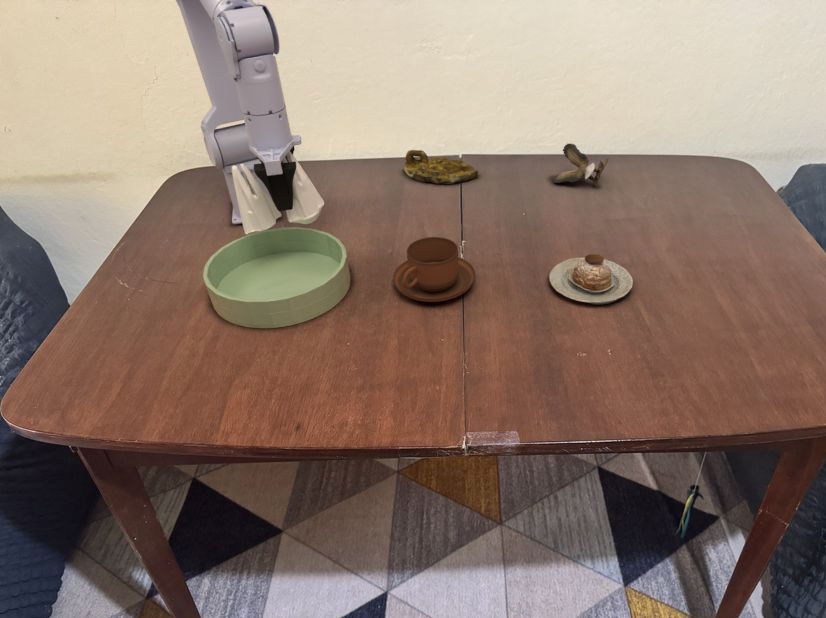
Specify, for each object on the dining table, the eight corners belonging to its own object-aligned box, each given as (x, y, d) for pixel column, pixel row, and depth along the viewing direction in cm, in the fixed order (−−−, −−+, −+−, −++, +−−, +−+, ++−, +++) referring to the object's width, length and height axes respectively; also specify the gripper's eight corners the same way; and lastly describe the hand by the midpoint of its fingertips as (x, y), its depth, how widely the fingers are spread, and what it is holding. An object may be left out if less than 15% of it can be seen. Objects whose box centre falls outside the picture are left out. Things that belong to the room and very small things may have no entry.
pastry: (585, 318, 87) (588, 290, 84) (532, 278, 95) (533, 252, 92) (649, 291, 92) (654, 263, 89) (594, 255, 100) (597, 228, 97)
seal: (482, 172, 127) (410, 166, 130) (483, 148, 125) (409, 142, 127) (473, 187, 120) (396, 181, 122) (473, 162, 117) (395, 156, 120)
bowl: (216, 262, 101) (208, 237, 98) (343, 244, 105) (339, 219, 102) (207, 339, 86) (197, 312, 83) (357, 315, 89) (353, 288, 87)
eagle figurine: (607, 169, 122) (563, 154, 124) (611, 147, 115) (564, 131, 117) (591, 202, 120) (547, 186, 122) (594, 182, 113) (547, 166, 115)
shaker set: (326, 213, 98) (313, 142, 91) (326, 226, 95) (312, 153, 88) (247, 221, 97) (227, 151, 90) (244, 235, 94) (223, 162, 87)
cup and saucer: (458, 316, 89) (456, 279, 85) (380, 301, 92) (375, 264, 88) (486, 271, 97) (486, 236, 93) (414, 259, 101) (411, 224, 97)
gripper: (296, 123, 81) (315, 220, 89) (292, 88, 91) (309, 178, 100) (238, 130, 79) (263, 227, 88) (241, 94, 90) (263, 184, 99)
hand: (284, 202), depth 94 cm, fingers closed on shaker set, 4 cm apart
